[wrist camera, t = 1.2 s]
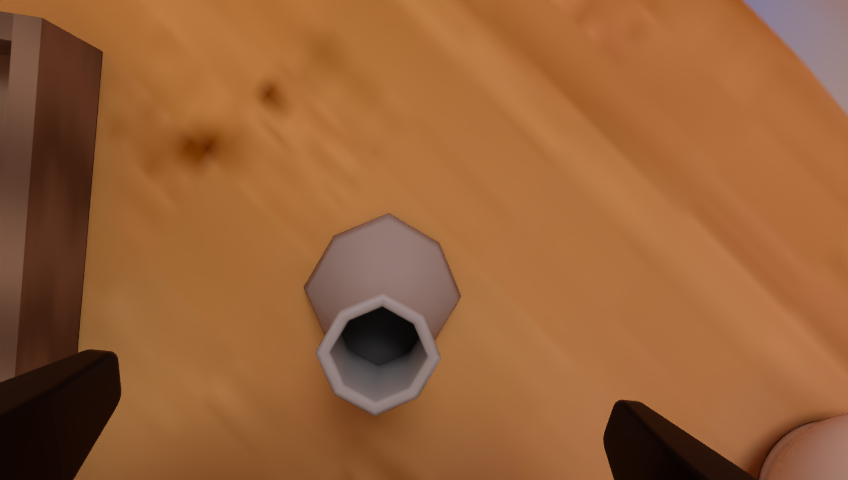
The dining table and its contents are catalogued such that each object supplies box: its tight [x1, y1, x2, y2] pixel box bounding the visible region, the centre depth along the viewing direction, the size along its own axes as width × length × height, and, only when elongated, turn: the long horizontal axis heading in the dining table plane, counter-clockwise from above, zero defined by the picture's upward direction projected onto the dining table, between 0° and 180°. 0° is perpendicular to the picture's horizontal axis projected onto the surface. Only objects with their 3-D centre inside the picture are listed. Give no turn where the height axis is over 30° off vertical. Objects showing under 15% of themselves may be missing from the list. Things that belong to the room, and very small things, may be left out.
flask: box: [304, 213, 461, 416], centre depth 17 cm, size 7×7×10 cm
